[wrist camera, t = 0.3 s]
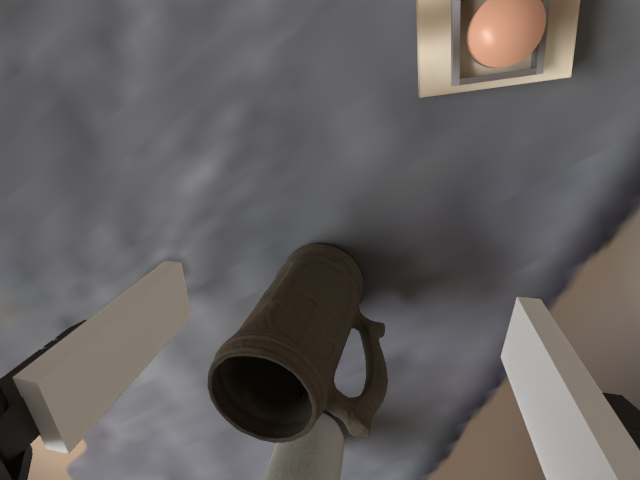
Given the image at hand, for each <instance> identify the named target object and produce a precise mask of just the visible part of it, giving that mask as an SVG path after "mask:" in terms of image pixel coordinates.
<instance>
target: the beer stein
mask: <svg viewBox="0 0 640 480" xmlns="http://www.w3.org/2000/svg"><path fill="white" fill-rule="evenodd" d="M363 289H364V283H363V276H362V274H361V272H360V269H359V267H358V266H357V264H356V263H355V262H354V260H353V259H352V258H351V257H350V256H349V255H348V254H346V253H345V252H343V251H342V250H340V249H338V248H335V247H333V246H330V245H325V244H310V245H307V246H303V247H301V248H299V249H298V250H296V251H294V252H293V253H292V254H291V255H290V256H289V258H288V259H287V261H286V262H285V264H284V265H283V266H282V267H281V269H280V270H279V272H278V273H277V275H276V278H275V280H274V281H273V283H272V284H271V285H270V287H269V288H268V289H267V291H266V292H265V293H264V295H263V296H262V298H261V299H260V301H259V302H258V304H257V305H256V307H255V308H254V310H253V311H252V312H251V314H250V315H249V317H248V318H247V319H246V321H245V322H244V323H243V325H242V326H241V328H240V329H239V330H238V332H237V333H236V334H235V335H234V336H232V337H231V338H230V339H228V340H227V341H226V342H225V343H224V344H223V345H222V346H221V347H220V348H219V350H218V351H217V353H216V355H215V358H214V361H213V363H212V364H211V367H210V369H209V372H208V390H209V394H210V397H211V400H212V402H213V404H214V405H215V407H216V409H217V410H218V411H219V413H220V414H221V415H222V416H223V417H224V418H225V419H226V420H227V421H228V422H229V423H230V424H231V425H233V426H234V427H235V428H236V429H237V430H239V431H241V432H243V433H245V434H248V435H250V436H252V437H255V438H257V439H259V440H263V441H268V442H273V443H285V442H290V441H294V440H297V439H299V438H301V437H303V436H305V435H306V434H307V433H309V432H310V431H311V429H312V428H313V426H314V424H315V422H316V421H317V420H318V418H319V417H320V416H321V415H322V413H323V411H324V410H327V411H329V412H330V413H331V414H333V415H334V416H336V417H338V418H339V419H340V420H342V421H343V422H344V423H345V425H346V427H347V429H348V431H349V433H350V434H351V435H352V436H356V437H360V438H363V437H367V436H369V434H370V425H371V421H372V418H373V415H374V414H375V413H376V411H377V410H378V408H379V407H380V405H381V404H382V402H383V400H384V397H385V395H386V390H387V383H388V379H387V368H386V363H385V360H384V356H383V353H382V350H381V347H380V343H379V338H381V337H383V336H384V334H385V325H384V323H379V322H374V321H371V320H369V319H367V318H366V317H364V316H363V315H362V314H361V312H360V309H359V303H360V301H361V299H362V295H363ZM351 328H355V329H356V330H358V331H359V333H360V335H361V339H362V344H363V348H364V353H365V360H366V381H365V386H364V389H363V392H362V394H361V395H360V396H358V397H355V398H349V397H347V396H345V395H343V394H342V393H341V392H340V391H339V390H337V388H336V387H335V383H334V376H335V371H336V369H337V366H338V363H339V360H340V358H341V355H342V352H343V349H344V346H345V344H346V341H347V338H348V336H349V333H350V331H351Z"/></svg>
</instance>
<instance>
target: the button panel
mask: <svg viewBox="0 0 640 480" xmlns="http://www.w3.org/2000/svg"><path fill="white" fill-rule="evenodd" d="M486 1H487V0H416V15H417V51H418V87H419V97H420V98H422V97H429V96H436V95H444V94H451V93H458V92H466V91H473V90H480V89H488V88H495V87H502V86H509V85H517V84H524V83H531V82H539V81H546V80H553V79H561V78H568V77H571V73H572V65H573V57H574V48H575V40H576V32H577V24H578V16H579V8H580V0H541V1H542V3H543V5H544V8H545V12H546V25H545V30H544V33H543V36H542V38H541V40H540V42H539V44H538V45H537V47H536V48H535V49H534V50H533V52H532V53H531V54H530V55H529V56H527V57H526V58H525V59H523V60H522V61H520V62H518V63H516V64H514V65H511V66H507V67H501V68H487V67H483V66H481V65H479V64H478V63H476V62H475V61H474V60H473V59H472V57H471V56H470V54H469V52H468V49H467V45H466V33H467V28H468V25H469V23H470V20H471V19H472V17H473V15H474V14H475V12H476V11H477V10H478V9H479V8H480V7H481V6H482V5H483V4H484V3H485V2H486Z"/></svg>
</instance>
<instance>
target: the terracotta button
mask: <svg viewBox="0 0 640 480" xmlns="http://www.w3.org/2000/svg"><path fill="white" fill-rule="evenodd" d="M545 25H546V12H545V8H544V5H543V3H542V1H541V0H487V1H486V2H485V3H484V4H483V5H482V6H481V7H480V8H479V9H478V10H477V11H476V12H475V14H474V15H473V17H472V19H471V20H470V23H469V25H468V28H467V33H466V45H467V49H468V52H469V54H470V56H471V57H472V59H473V60H474V61H475V62H476V63H478V64H479V65H481V66H483V67H487V68H501V67H507V66H511V65H514V64H516V63H518V62H520V61H522V60H523V59H525V58H526V57H527V56H529V55H530V54H531V53H532V52H533V50H534V49H535V48H536V47H537V45H538V44H539V42H540V40H541V38H542V36H543V33H544V30H545Z"/></svg>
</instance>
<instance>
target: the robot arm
mask: <svg viewBox="0 0 640 480" xmlns="http://www.w3.org/2000/svg"><path fill="white" fill-rule="evenodd" d="M190 317H191V312H190V307H189V301H188V296H187V290H186V285H185V279H184V274H183V268H182V263H181V262H173V261H164V262H163V263H161V264H160V265H159V266H158V267H156V268H155V269H154V270H152V271H151V272H150V273H148V274H147V275H146V276H144V277H143V278H142V279H141V280H139V281H138V282H137V283H135V284H134V285H133V286H131V287H130V288H129V289H127V290H126V291H125V292H124V293H122V294H121V295H120V296H118V297H117V298H116V299H114V300H113V301H112V302H110V303H109V304H108V305H107V306H105V307H104V308H103V309H101V310H100V311H99V312H97V313H96V314H95V315H93V316H92V317H91V318H90V319H88V320H84V321H82V322H80V323H78V324H76V325H74V326H72V327H70V328H68V329H67V330H65V331H64V332H63V333H61V334H60V335H59V336H57V337H56V338H55V340H54V341H51V342H49V343H48V344H47V345H45V346H44V347H43V349H42V350H41V349H40V350H39V351H37V352H36V353H34V354H33V355H32V356H30V357H29V358H28V359H26V360H25V361H24V362H22V363H21V364H20V365H18V366H17V367H16V368H14V369H13V370H12V371H10V372H9V373H8V374H6V375H5V376H4V377H2V378H1V379H0V480H27V479H28V473H29V468H30V464H31V459H32V447H31V445H30V443H32V442H33V441H34V440H35V439H36V438H37V437H38V436H39V435H40V436H41V438H42V440H43V442H44V445H45V447H46V449H49V450H54V451H58V452H63V453H67V454H69V453H70V452H71V451H72V450H73V449H74V448H75V446H76V445H77V444H78V443H79V442H80V441H81V440H82V439H83V437H84V436H85V435H86V434H87V433H88V432H89V431H90V430H91V428H92V427H93V426H94V425H95V424H96V423H97V422H98V421H99V419H100V418H101V417H102V416H103V415H104V414H105V413H106V412H107V410H108V409H109V408H110V407H111V406H112V405H113V404H114V402H115V401H116V400H117V399H118V398H119V397H120V396H121V395H122V393H123V392H124V391H125V390H126V389H127V388H128V387H129V386H130V384H131V383H132V382H133V381H134V380H135V379H136V378H137V377H138V375H139V374H140V373H141V372H142V371H143V370H144V369H145V368H146V366H147V365H148V364H149V363H150V362H151V361H152V360H153V359H154V357H155V356H156V355H157V354H158V353H159V352H160V351H161V350H162V348H163V347H164V346H165V345H166V344H167V343H168V342H169V341H170V339H171V338H172V337H173V336H174V335H175V334H176V333H177V332H178V330H179V329H180V328H181V327H182V326H183V325H184V324H185V322H186V321H187V320H188V319H189V318H190ZM501 359H502V362H503V365H504V367H505V370H506V373H507V375H508V378H509V381H510V383H511V386H512V389H513V391H514V394H515V397H516V399H517V402H518V405H519V408H520V410H521V413H522V416H523V418H524V421H525V424H526V426H527V429H528V432H529V434H530V437H531V440H532V443H533V445H534V448H535V451H536V453H537V456H538V459H539V461H540V464H541V467H542V469H543V472H544V475H545V477H546V480H640V411H639V410H638V409H637V408H636V407H635V406H634V405H632V404H631V403H630V402H629V401H628V400H627V399H625V398H624V397H623V396H622V395H615V394H609V393H602V392H601V391H600V389H599V387H598V386H597V385H596V383H595V381H594V380H593V378H592V377H591V375H590V374H589V373H588V371H587V369H586V368H585V366H584V365H583V363H582V362H581V360H580V359H579V357H578V355H577V354H576V352H575V351H574V349H573V348H572V346H571V345H570V343H569V342H568V340H567V339H566V337H565V336H564V334H563V333H562V331H561V330H560V328H559V327H558V325H557V323H556V322H555V320H554V319H553V317H552V316H551V314H550V313H549V311H548V310H547V308H546V307H545V305H544V304H543V302H542V301H541V299H534V298H525V297H517V298H516V302H515V306H514V310H513V313H512V317H511V321H510V324H509V328H508V332H507V335H506V339H505V343H504V346H503V350H502V354H501Z"/></svg>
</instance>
